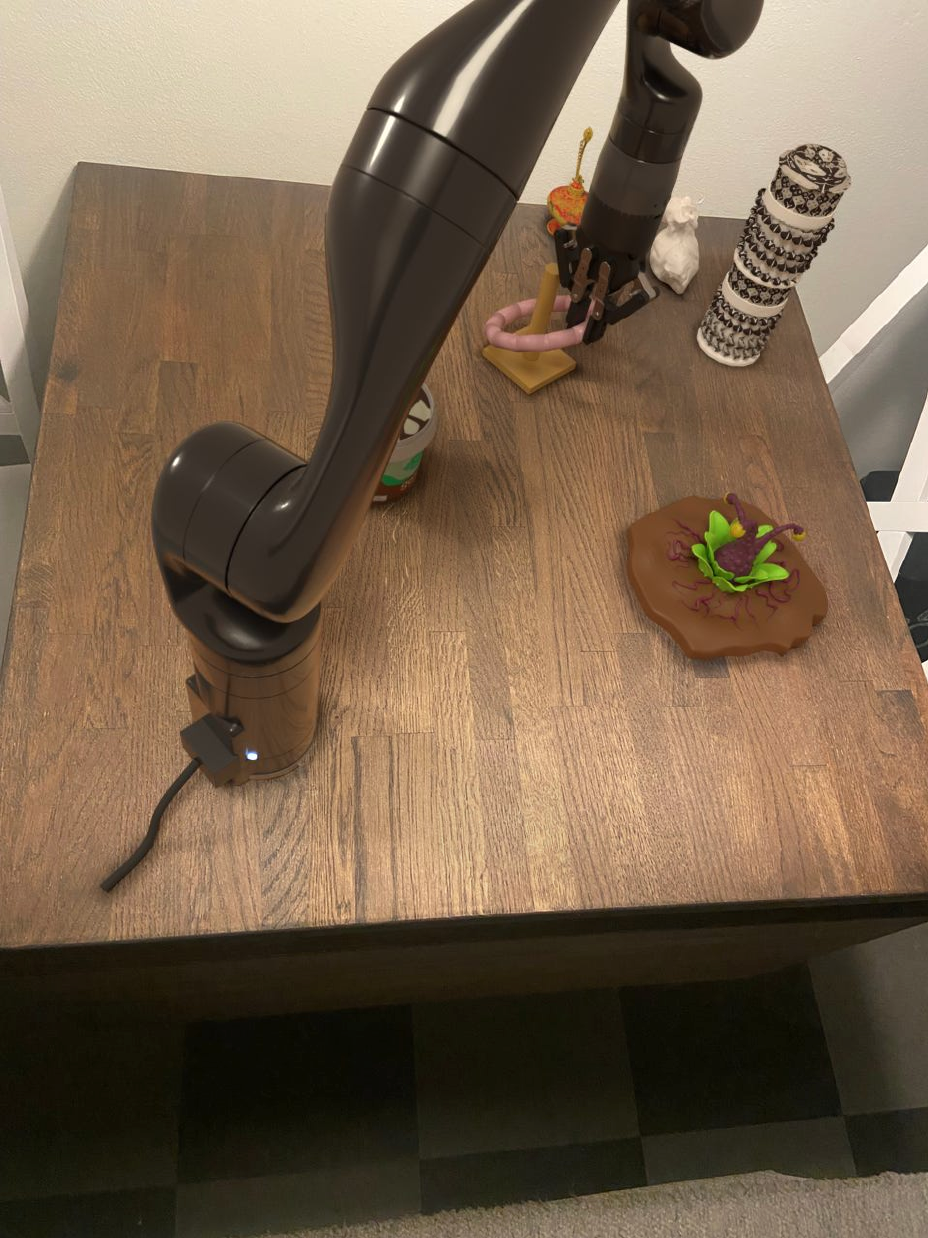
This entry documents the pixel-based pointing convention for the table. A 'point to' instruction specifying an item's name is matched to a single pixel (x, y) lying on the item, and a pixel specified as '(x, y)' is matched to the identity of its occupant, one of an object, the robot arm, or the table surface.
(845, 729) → the table surface
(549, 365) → the stand
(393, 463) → the food container
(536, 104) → the robot arm
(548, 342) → the ring
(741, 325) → the decorative candle
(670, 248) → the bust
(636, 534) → the plant
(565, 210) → the orange ornate vessel
